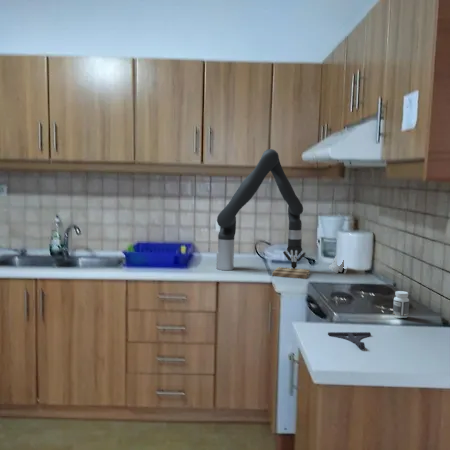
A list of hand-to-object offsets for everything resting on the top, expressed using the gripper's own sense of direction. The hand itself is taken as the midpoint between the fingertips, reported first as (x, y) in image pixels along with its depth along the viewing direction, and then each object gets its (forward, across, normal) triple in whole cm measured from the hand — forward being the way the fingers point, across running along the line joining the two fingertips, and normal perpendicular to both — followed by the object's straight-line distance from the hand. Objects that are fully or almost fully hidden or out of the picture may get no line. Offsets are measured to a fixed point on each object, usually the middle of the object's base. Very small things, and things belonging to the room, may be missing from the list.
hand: (294, 268), depth 274 cm
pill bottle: (+1, +53, -73) cm, 90 cm away
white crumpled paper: (+3, +24, +15) cm, 28 cm away
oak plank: (+2, 0, -4) cm, 5 cm away
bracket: (+1, +37, -109) cm, 115 cm away
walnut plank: (+2, 0, -13) cm, 13 cm away
